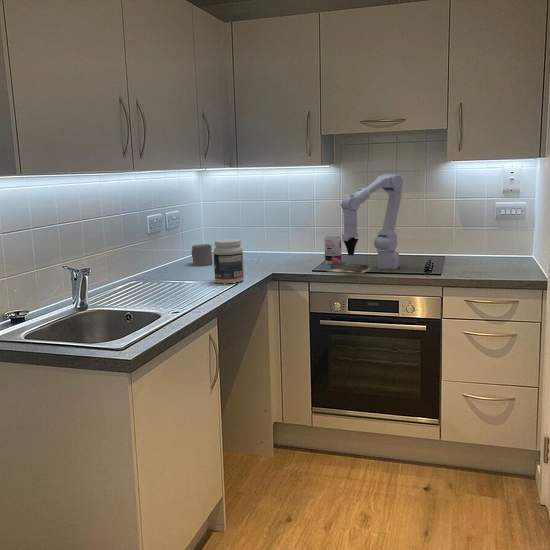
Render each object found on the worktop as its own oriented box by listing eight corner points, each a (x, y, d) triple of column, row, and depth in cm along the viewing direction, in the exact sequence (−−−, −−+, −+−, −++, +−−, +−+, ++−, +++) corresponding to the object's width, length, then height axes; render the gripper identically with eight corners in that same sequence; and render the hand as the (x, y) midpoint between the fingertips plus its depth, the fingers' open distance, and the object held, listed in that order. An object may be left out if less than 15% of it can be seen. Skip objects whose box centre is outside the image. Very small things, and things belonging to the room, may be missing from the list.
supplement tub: (217, 279, 281) (215, 238, 278) (245, 278, 280) (243, 238, 277) (212, 285, 268) (210, 242, 265) (242, 284, 267) (240, 242, 264)
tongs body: (368, 269, 286) (368, 264, 286) (365, 270, 283) (365, 265, 283) (333, 267, 294) (333, 262, 294) (330, 268, 291) (330, 264, 290)
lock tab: (338, 262, 292) (338, 258, 291) (336, 263, 290) (336, 259, 289) (333, 262, 293) (333, 258, 292) (331, 263, 291) (331, 258, 290)
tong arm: (363, 270, 282) (363, 264, 281) (359, 271, 280) (359, 265, 279) (339, 267, 292) (339, 261, 291) (336, 268, 290) (336, 262, 290)
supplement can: (341, 264, 310) (341, 234, 307) (341, 267, 301) (341, 236, 299) (325, 264, 310) (324, 234, 308) (324, 267, 302) (324, 236, 300)
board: (371, 271, 288) (371, 268, 288) (363, 275, 277) (363, 272, 277) (335, 269, 296) (335, 266, 296) (325, 273, 285) (325, 271, 285)
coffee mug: (215, 264, 321) (214, 245, 319) (198, 267, 316) (197, 247, 314) (204, 261, 332) (203, 243, 330) (187, 263, 327) (186, 245, 325)
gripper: (347, 222, 282) (348, 252, 284) (336, 226, 269) (336, 257, 272) (362, 222, 279) (362, 252, 281) (351, 226, 266) (351, 257, 269)
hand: (350, 255), depth 276 cm, fingers closed
